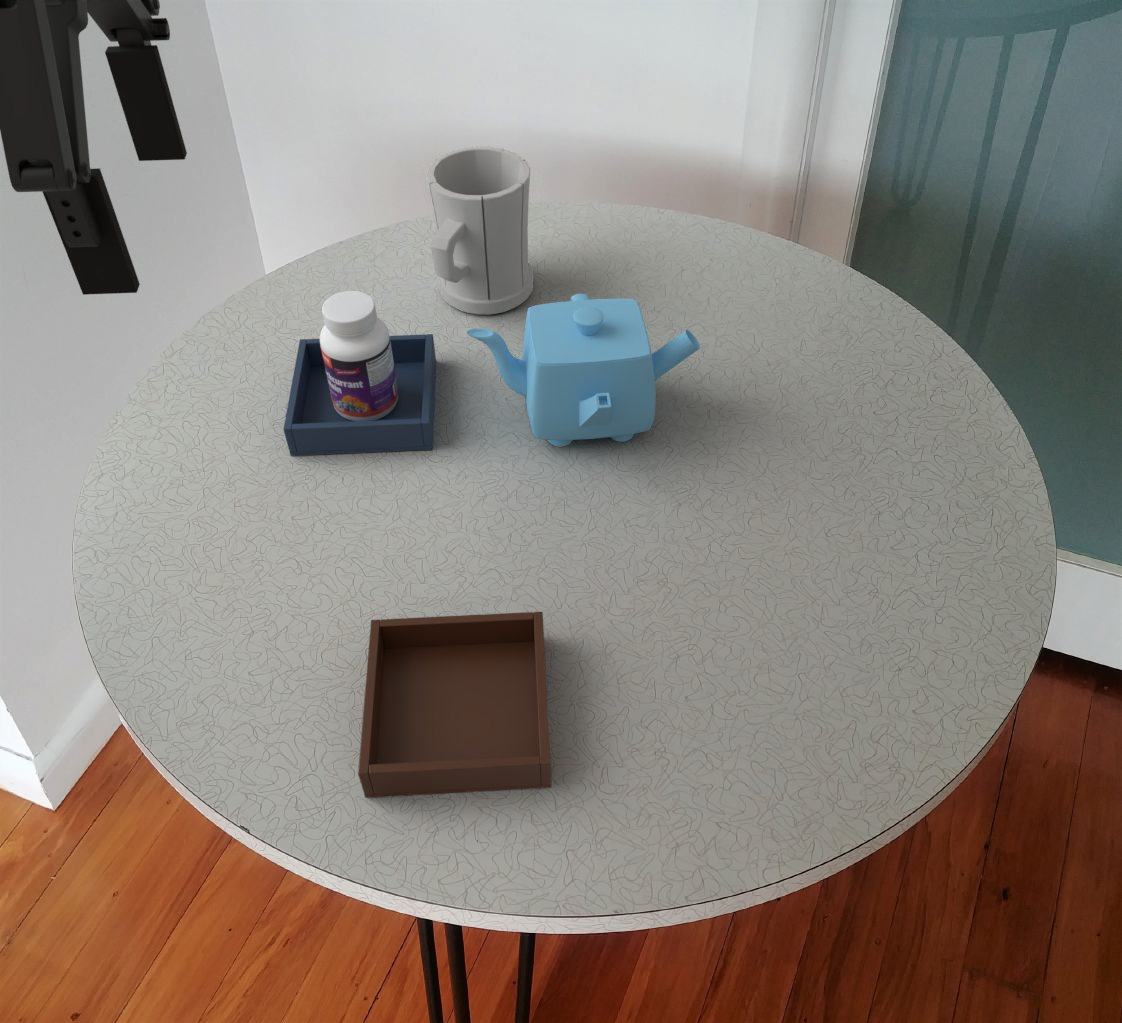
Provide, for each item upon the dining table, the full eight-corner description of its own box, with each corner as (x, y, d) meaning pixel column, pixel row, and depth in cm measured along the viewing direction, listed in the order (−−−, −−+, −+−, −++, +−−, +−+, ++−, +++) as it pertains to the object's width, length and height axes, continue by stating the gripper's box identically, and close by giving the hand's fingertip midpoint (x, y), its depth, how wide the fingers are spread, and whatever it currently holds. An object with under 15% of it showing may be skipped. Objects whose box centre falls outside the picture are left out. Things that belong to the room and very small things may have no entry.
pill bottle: (319, 408, 87) (297, 311, 80) (363, 373, 90) (345, 276, 83) (369, 433, 85) (351, 336, 78) (412, 396, 88) (398, 299, 81)
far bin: (290, 456, 84) (283, 429, 82) (306, 366, 91) (299, 339, 89) (432, 450, 84) (428, 423, 82) (436, 360, 92) (432, 333, 90)
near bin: (365, 797, 64) (357, 773, 61) (376, 645, 71) (370, 619, 69) (551, 787, 64) (550, 763, 62) (543, 637, 72) (542, 611, 69)
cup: (541, 324, 95) (538, 205, 86) (440, 333, 94) (426, 213, 86) (528, 258, 102) (524, 142, 93) (434, 266, 101) (421, 149, 93)
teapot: (679, 359, 92) (688, 259, 84) (712, 472, 82) (726, 371, 75) (471, 374, 90) (462, 274, 83) (480, 491, 81) (470, 390, 73)
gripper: (-10, -150, 35) (164, 355, 51) (144, -302, 52) (239, 111, 68) (-243, -145, 35) (4, 362, 50) (-11, -300, 52) (120, 114, 67)
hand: (139, 218), depth 59 cm, fingers open, 13 cm apart
